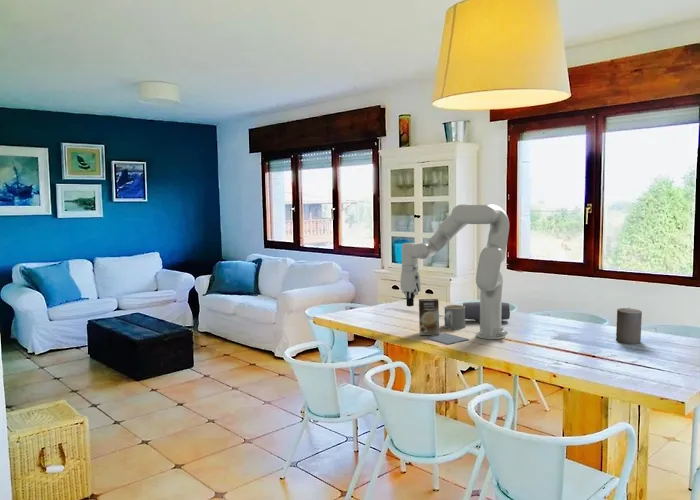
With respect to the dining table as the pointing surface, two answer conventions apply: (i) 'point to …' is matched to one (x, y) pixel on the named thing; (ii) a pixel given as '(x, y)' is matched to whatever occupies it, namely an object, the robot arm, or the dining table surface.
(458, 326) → the coffee mug
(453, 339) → the mat
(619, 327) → the pillar candle
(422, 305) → the coffee box
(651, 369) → the dining table surface
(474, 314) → the bluetooth speaker
